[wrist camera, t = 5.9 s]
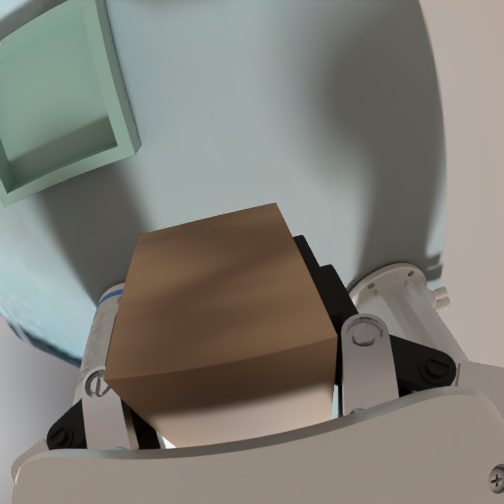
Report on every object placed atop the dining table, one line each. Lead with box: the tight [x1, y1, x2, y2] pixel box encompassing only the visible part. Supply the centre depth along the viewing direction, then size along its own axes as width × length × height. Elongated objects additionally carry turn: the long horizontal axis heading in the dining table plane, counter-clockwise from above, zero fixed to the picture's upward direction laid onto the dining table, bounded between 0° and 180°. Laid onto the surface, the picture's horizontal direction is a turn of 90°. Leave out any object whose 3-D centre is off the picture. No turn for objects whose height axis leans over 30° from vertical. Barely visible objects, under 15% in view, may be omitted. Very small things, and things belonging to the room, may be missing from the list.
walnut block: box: [103, 203, 337, 448], centre depth 10 cm, size 5×5×6 cm
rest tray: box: [0, 0, 141, 208], centre depth 16 cm, size 13×13×3 cm
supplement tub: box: [73, 283, 176, 449], centre depth 25 cm, size 10×10×15 cm
